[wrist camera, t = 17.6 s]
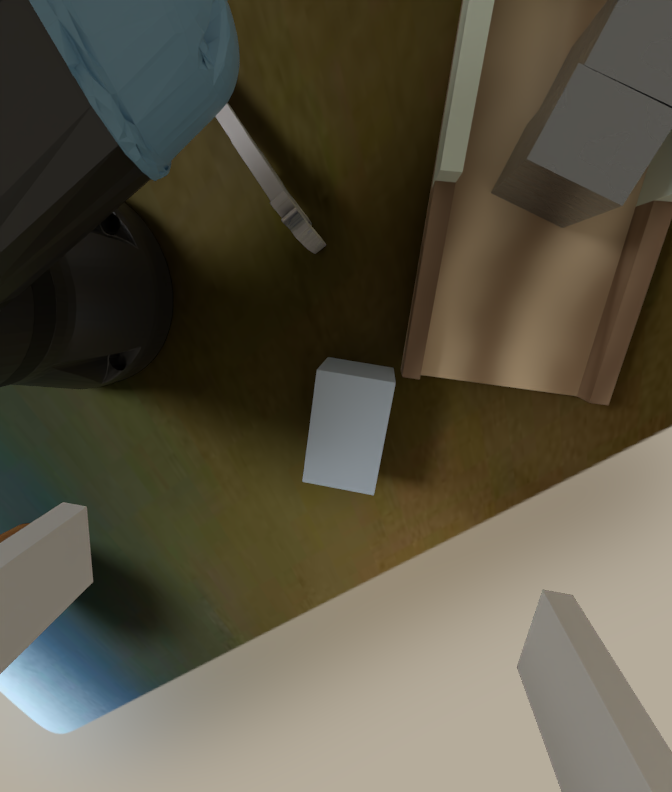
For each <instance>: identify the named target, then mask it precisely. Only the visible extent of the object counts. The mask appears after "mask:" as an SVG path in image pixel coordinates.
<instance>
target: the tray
mask: <svg viewBox="0 0 672 792" xmlns="http://www.w3.org/2000/svg"><path fill="white" fill-rule="evenodd" d="M494 1H495V0H463V5H462V11H461V17H460V23H459V29H458V35H457V41H456V47H455V53H454V59H453V65H452V71H451V76H450V82H449V88H448V94H447V100H446V106H445V112H444V118H443V124H442V130H441V136H440V142H439V148H438V154H437V160H436V166H435V172H434V178H433V184H434V182H435V181H446V182H456V181H457V180H458V178H459V177H460V175H461V174H462V172H463V167H464V162H465V156H466V151H467V146H468V140H469V135H470V129H471V124H472V119H473V113H474V108H475V103H476V97H477V92H478V86H479V81H480V76H481V70H482V65H483V60H484V54H485V49H486V43H487V38H488V33H489V27H490V22H491V17H492V11H493V6H494ZM433 184H432V187H433ZM654 200H656V201H668V202H672V129H671V131H670V132H669V134H668V135H667V137H666V139H665V140H664V142H663V143H662V145H661V146H660V148H659V149H658V151H657V153H656V154H655V156H654V157H653V159H652V160H651V162H650V164H649V165H648V169H647V172H646V175H645V178H644V181H643V185H642V188H641V191H640V194H639V198H638V201H637V204H636V207H637V206H639V205H642V204H645V203H648V202H651V201H654Z"/></svg>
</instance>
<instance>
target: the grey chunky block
mask: <svg viewBox="0 0 672 792" xmlns="http://www.w3.org/2000/svg"><path fill="white" fill-rule="evenodd" d="M578 63H580V64H582V65H584V66H586V67H588V68H590V69H592V70H595V71H597V72H599V73H601V74H603V75H605V76H607V77H609V78H611V79H613V80H615V81H617V82H619V83H621V84H623V85H625V86H627V87H629V88H631V89H633V90H635V91H637V92H639V93H641V94H643V95H645V96H648V97H650V98H652V99H654V100H656V101H658V102H660V103H662V104H664V105H666V106H668V107H670V108H672V0H608V1H607V2H606V3H605V4H604V6H603V7H602V8H601V10H600V11H599V12H598V14H597V15H596V16H595V18H594V19H593V20H592V21H591V23H590V24H589V25H588V27H587V28H586V29H585V31H584V32H583V33H582V35H581V36H580V37H579V39H578V40H577V41H576V42H575V44H574V45H573V46H572V48H571V49H570V51H569V53H568V55H567V57H566V59H565V61H564V63H563V65H562V67H561V69H560V70H559V72H558V74H557V76H556V78H555V80H554V82H553V84H552V86H551V88H550V90H549V92H548V94H547V96H546V97H545V99H544V101H543V103H542V105H541V107H542V106H543V105H544V104H545V102H546V101H547V100H548V99H549V98H550V96H551V95H552V94H553V93H554V92H555V91H556V89H557V88H558V87H559V86H560V85H561V83H562V82H563V81H564V80H565V79H566V78H567V76H568V75H569V74H570V73H571V72H572V70H573V69H574V68H575V67H576V66H577V64H578ZM541 107H540V108H541Z"/></svg>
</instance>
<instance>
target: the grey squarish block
mask: <svg viewBox="0 0 672 792" xmlns="http://www.w3.org/2000/svg"><path fill="white" fill-rule="evenodd" d="M671 129H672V108H670V107H668V106H666V105H664V104H662V103H660V102H658V101H656V100H654V99H652V98H650V97H648V96H645V95H643V94H641V93H639V92H637V91H635V90H633V89H631V88H629V87H627V86H625V85H623V84H621V83H619V82H617V81H615V80H613V79H611V78H609V77H607V76H605V75H603V74H601V73H599V72H597V71H595V70H592V69H590V68H588V67H586V66H584V65H582V64H580V63H578V64H577V66H576V67H575V68H574V69H573V70H572V72H571V73H570V74H569V75H568V76H567V78H566V79H565V80H564V81H563V82H562V83H561V85H560V86H559V87H558V88H557V89H556V91H555V92H554V93H553V94H552V95H551V96H550V98H549V99H548V100H547V101H546V102H545V104H544V105H543V106H542V107H541V108H540V109H539V111H538V112H537V113H536V114H535V115H534V117H533V118H532V119H531V120H530V121H529V122H528V124H527V125H526V127H525V129H524V131H523V133H522V135H521V137H520V139H519V140H518V142H517V144H516V146H515V148H514V150H513V152H512V154H511V156H510V157H509V159H508V161H507V163H506V165H505V167H504V169H503V171H502V173H501V174H500V176H499V178H498V180H497V182H496V184H495V186H494V188H493V190H492V191H491V193H492V194H494V195H496V196H498V197H500V198H502V199H504V200H506V201H508V202H510V203H512V204H514V205H516V206H518V207H520V208H522V209H524V210H526V211H529V212H531V213H533V214H535V215H537V216H539V217H541V218H543V219H545V220H547V221H549V222H551V223H553V224H555V225H557V226H559V227H561V228H564V227H567V226H570V225H572V224H575V223H578V222H580V221H583V220H586V219H588V218H591V217H594V216H597V215H599V214H602V213H605V212H607V211H610V210H613V209H616V208H618V207H621V206H623V204H624V203H625V201H626V200H627V198H628V196H629V195H630V193H631V192H632V190H633V189H634V187H635V185H636V184H637V182H638V181H639V179H640V178H641V176H642V175H643V173H644V171H645V170H646V168H647V167H648V165H649V164H650V162H651V160H652V159H653V157H654V156H655V154H656V153H657V151H658V149H659V148H660V146H661V145H662V143H663V142H664V140H665V139H666V137H667V135H668V134H669V132H670V131H671Z"/></svg>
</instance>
